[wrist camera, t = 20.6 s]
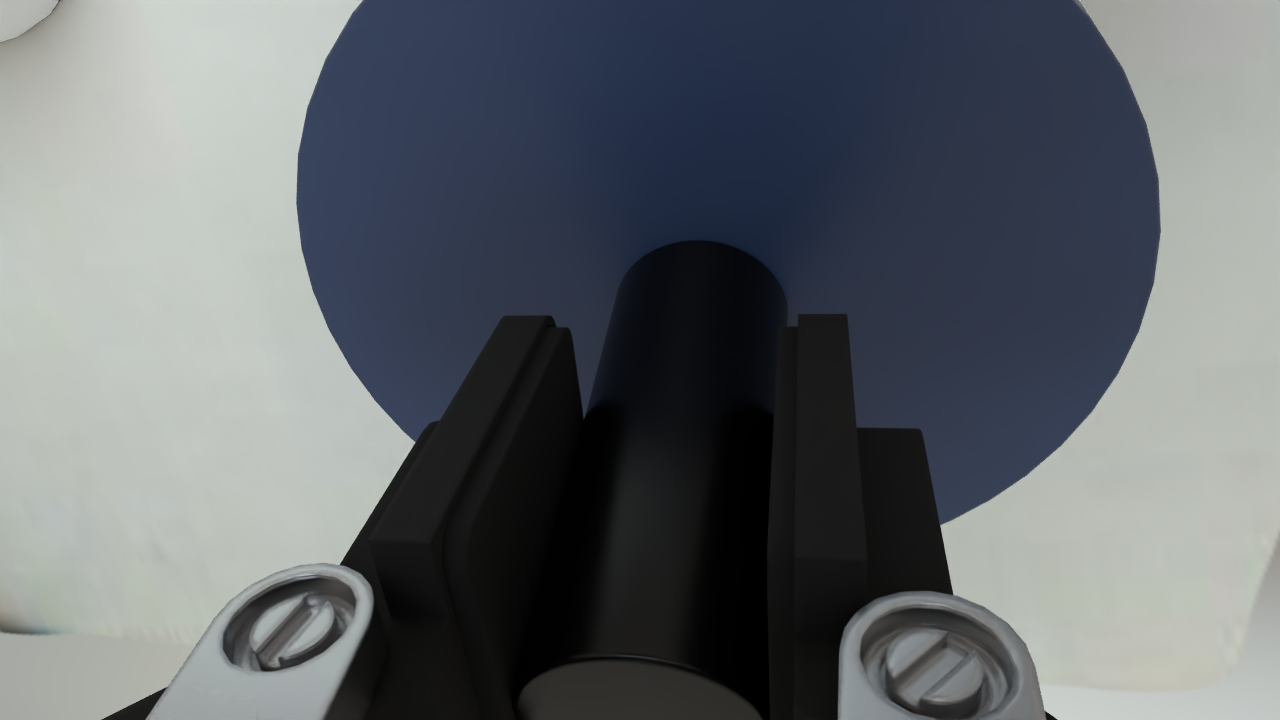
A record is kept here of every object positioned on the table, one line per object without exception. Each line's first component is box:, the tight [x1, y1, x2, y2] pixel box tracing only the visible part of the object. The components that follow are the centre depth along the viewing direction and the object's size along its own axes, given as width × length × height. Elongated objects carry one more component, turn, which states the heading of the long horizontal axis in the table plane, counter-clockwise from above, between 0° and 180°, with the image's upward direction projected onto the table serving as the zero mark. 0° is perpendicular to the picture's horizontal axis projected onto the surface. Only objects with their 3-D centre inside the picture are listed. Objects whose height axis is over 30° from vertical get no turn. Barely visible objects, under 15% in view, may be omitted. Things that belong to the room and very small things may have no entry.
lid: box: [296, 0, 1161, 720], centre depth 11 cm, size 12×12×7 cm
